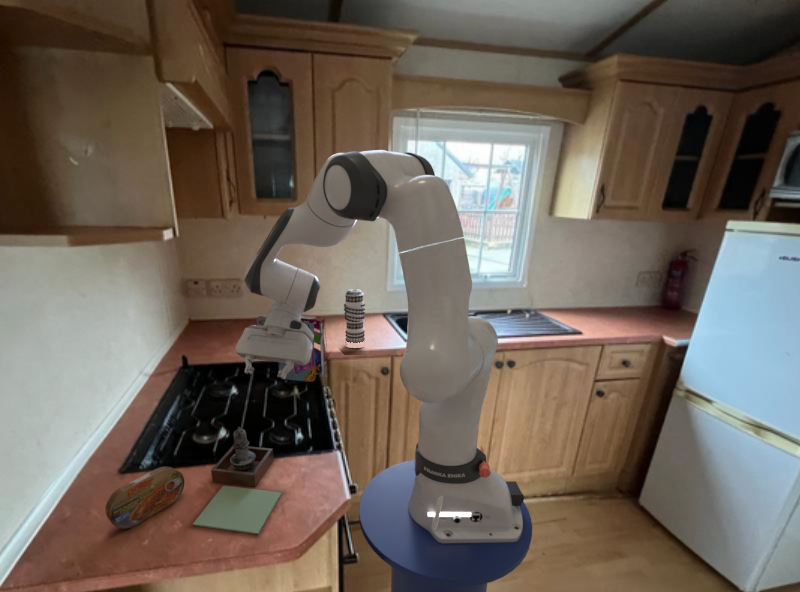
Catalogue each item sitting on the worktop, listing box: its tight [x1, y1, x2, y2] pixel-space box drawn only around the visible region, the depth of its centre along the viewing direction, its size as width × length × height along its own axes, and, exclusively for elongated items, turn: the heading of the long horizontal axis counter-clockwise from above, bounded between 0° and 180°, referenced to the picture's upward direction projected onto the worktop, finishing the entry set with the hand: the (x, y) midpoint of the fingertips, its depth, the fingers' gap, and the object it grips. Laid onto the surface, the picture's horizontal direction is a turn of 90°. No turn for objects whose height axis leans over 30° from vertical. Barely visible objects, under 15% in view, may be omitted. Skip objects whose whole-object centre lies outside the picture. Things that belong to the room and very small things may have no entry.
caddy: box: [210, 445, 275, 488], centre depth 98 cm, size 11×11×3 cm
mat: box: [192, 485, 282, 535], centre depth 86 cm, size 14×12×1 cm
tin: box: [104, 466, 185, 530], centre depth 84 cm, size 15×3×8 cm, turn 143°
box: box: [256, 313, 330, 389], centre depth 143 cm, size 25×6×24 cm, turn 73°
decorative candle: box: [343, 288, 366, 343], centre depth 178 cm, size 9×9×25 cm
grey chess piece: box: [230, 426, 257, 473], centre depth 97 cm, size 6×6×12 cm
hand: (264, 375), depth 103 cm, fingers open, 8 cm apart
